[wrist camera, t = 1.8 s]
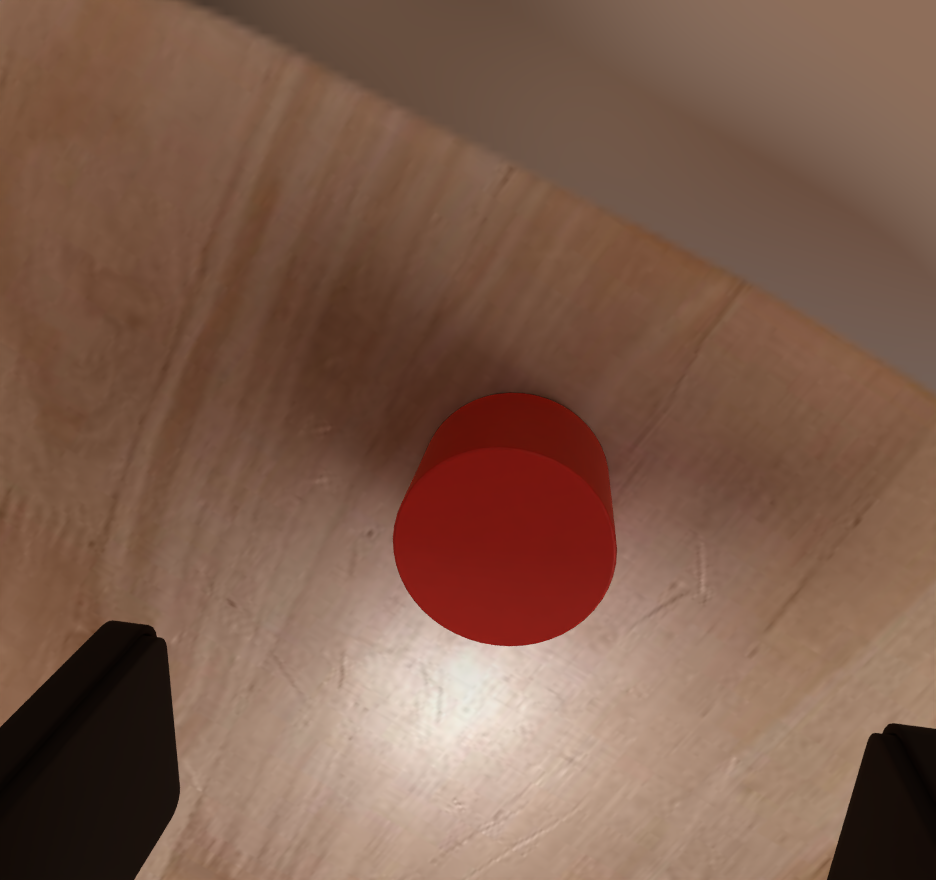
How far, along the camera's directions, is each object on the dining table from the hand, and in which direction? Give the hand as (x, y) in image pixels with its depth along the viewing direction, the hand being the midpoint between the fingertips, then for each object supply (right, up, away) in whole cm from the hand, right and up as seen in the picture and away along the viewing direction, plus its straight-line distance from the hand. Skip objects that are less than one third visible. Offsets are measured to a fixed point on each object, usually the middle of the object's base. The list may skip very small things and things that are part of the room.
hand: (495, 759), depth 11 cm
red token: (+1, +3, +8) cm, 9 cm away
